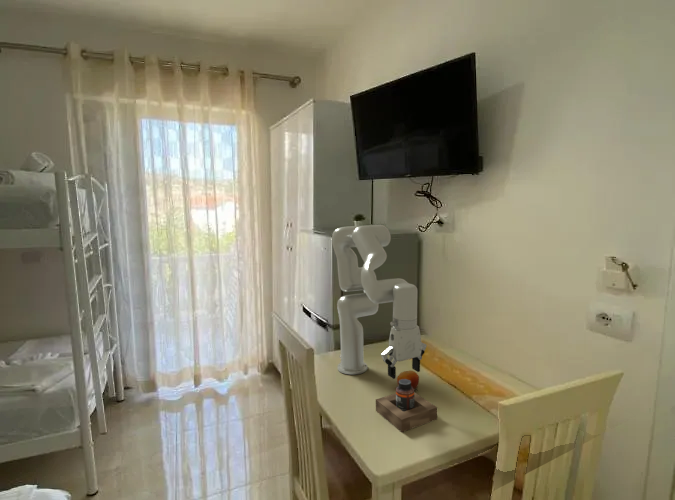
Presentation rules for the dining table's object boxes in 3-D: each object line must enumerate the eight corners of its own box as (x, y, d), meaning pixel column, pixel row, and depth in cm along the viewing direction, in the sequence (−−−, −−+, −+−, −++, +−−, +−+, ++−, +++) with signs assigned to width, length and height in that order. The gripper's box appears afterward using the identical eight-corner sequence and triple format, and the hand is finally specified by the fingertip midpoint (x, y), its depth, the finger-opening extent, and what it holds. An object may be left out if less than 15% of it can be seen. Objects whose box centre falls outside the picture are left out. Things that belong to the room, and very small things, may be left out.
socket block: (375, 410, 126) (375, 399, 125) (409, 400, 132) (409, 389, 132) (401, 432, 113) (401, 419, 113) (437, 419, 120) (437, 407, 119)
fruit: (409, 394, 134) (402, 371, 136) (398, 397, 140) (391, 375, 143) (427, 388, 137) (419, 366, 140) (415, 391, 144) (408, 370, 147)
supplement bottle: (415, 411, 125) (415, 378, 124) (413, 421, 119) (413, 386, 118) (397, 408, 127) (397, 376, 126) (394, 418, 121) (394, 384, 120)
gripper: (389, 331, 112) (388, 385, 115) (433, 321, 120) (432, 372, 123) (375, 323, 119) (375, 375, 121) (418, 315, 127) (417, 363, 129)
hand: (404, 373), depth 122 cm, fingers open, 9 cm apart
